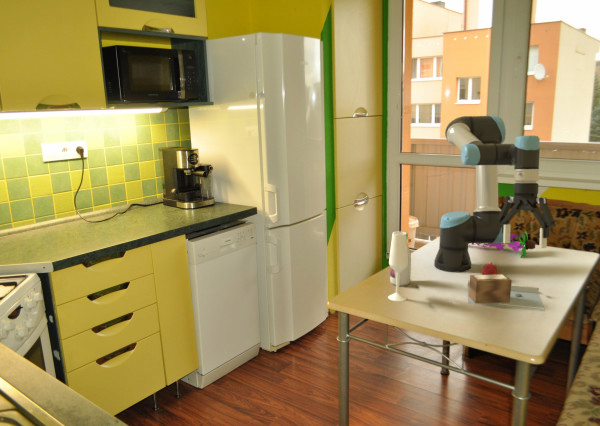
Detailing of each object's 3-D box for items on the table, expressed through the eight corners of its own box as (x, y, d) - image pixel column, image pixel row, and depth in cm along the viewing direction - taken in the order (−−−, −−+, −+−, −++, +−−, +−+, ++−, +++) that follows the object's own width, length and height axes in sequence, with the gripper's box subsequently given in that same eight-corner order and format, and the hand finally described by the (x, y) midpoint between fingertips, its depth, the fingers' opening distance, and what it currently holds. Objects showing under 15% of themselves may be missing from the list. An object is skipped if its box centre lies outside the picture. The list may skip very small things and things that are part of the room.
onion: (489, 285, 190) (490, 265, 188) (477, 280, 195) (479, 261, 193) (500, 282, 192) (501, 262, 191) (488, 278, 197) (489, 258, 196)
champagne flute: (400, 293, 182) (403, 230, 177) (410, 299, 176) (412, 234, 171) (384, 295, 180) (386, 231, 175) (393, 302, 174) (395, 236, 169)
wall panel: (467, 306, 170) (468, 297, 169) (467, 288, 187) (468, 280, 186) (544, 314, 163) (545, 305, 162) (537, 294, 179) (538, 286, 179)
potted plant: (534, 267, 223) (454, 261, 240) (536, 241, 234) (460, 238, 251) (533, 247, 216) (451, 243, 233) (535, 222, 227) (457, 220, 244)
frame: (475, 303, 170) (476, 280, 168) (468, 296, 175) (470, 274, 174) (509, 302, 170) (511, 279, 168) (502, 295, 176) (504, 273, 174)
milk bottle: (412, 280, 195) (413, 231, 191) (407, 287, 188) (409, 236, 184) (392, 278, 198) (394, 229, 194) (387, 284, 192) (389, 234, 187)
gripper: (487, 182, 174) (485, 241, 176) (555, 182, 153) (552, 251, 155) (501, 181, 178) (499, 240, 180) (569, 182, 157) (566, 249, 158)
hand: (524, 245), depth 167 cm, fingers open, 13 cm apart
